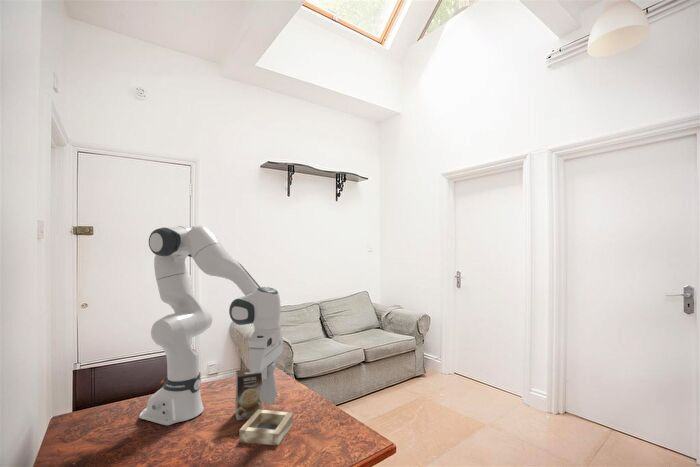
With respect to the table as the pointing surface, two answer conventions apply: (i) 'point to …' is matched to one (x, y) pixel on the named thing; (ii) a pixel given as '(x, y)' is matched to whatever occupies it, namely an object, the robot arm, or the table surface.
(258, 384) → the coffee box
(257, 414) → the socket block
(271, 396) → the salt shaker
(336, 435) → the table surface
